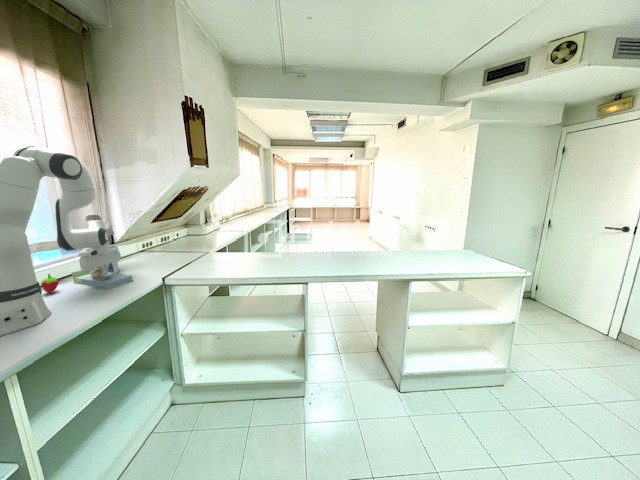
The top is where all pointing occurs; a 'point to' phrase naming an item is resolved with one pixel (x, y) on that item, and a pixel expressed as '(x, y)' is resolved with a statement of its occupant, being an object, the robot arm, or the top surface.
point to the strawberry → (49, 284)
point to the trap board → (101, 279)
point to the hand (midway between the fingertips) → (104, 273)
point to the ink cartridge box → (113, 267)
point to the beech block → (97, 273)
